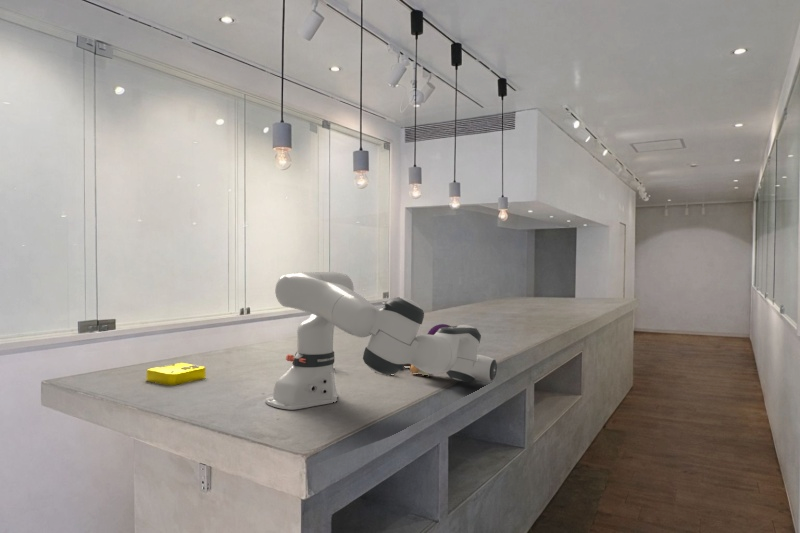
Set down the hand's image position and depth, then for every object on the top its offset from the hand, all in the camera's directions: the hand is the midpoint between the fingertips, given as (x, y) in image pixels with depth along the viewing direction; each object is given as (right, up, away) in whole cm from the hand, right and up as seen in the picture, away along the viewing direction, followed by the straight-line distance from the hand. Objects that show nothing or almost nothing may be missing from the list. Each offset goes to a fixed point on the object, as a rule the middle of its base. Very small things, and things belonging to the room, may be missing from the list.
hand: (424, 359), depth 199 cm
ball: (-3, -6, +2) cm, 7 cm away
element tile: (-88, -6, -9) cm, 89 cm away
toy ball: (+9, -6, +35) cm, 37 cm away
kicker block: (+1, -6, -1) cm, 6 cm away
